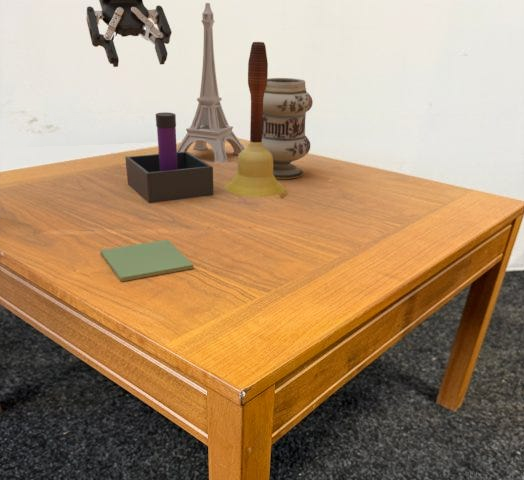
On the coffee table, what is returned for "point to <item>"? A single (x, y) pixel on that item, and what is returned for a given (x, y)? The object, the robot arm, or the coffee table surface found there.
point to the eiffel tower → (210, 106)
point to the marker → (167, 141)
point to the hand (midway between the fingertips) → (140, 62)
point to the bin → (169, 178)
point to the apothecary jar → (285, 124)
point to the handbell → (256, 137)
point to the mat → (145, 260)
